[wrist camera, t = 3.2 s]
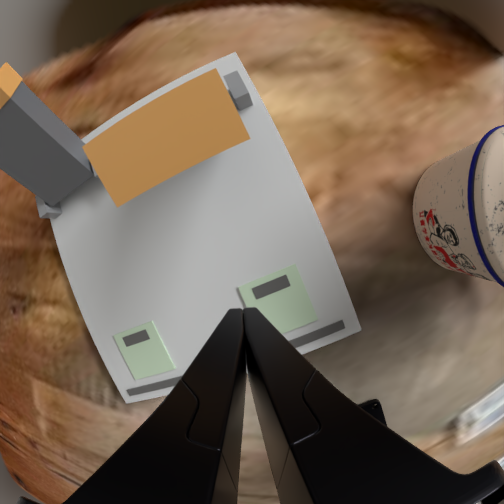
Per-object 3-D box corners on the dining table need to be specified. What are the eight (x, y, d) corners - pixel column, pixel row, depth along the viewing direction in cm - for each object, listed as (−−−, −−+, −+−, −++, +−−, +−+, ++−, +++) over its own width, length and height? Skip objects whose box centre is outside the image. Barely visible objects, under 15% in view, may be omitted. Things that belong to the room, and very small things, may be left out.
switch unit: (357, 324, 20) (368, 340, 17) (134, 395, 23) (115, 414, 20) (238, 61, 20) (230, 37, 17) (50, 175, 23) (25, 170, 20)
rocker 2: (239, 117, 19) (250, 138, 9) (172, 150, 20) (117, 207, 10) (223, 84, 18) (215, 67, 8) (155, 119, 18) (81, 146, 9)
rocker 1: (95, 175, 19) (-9, 79, 9) (51, 207, 20) (-48, 132, 10) (97, 153, 20) (6, 61, 11) (55, 185, 21) (-34, 111, 11)
